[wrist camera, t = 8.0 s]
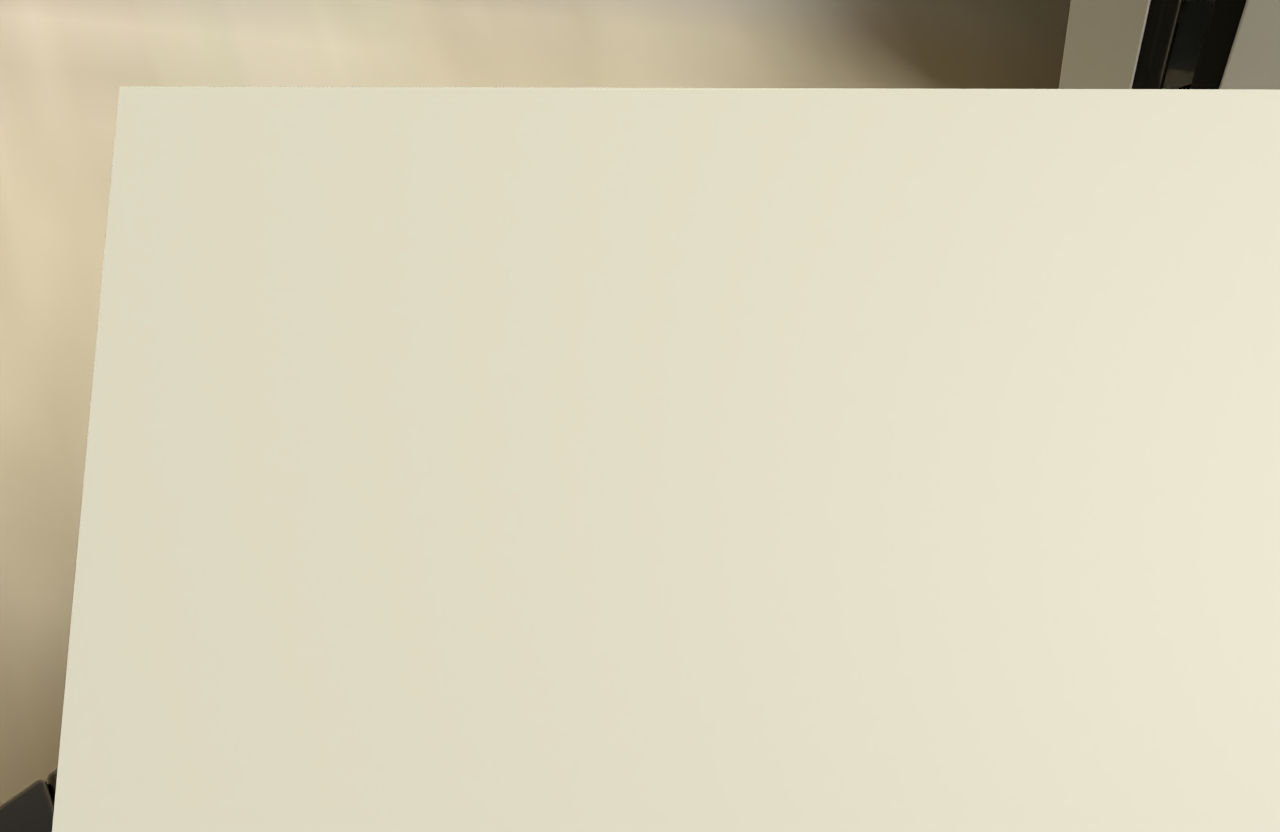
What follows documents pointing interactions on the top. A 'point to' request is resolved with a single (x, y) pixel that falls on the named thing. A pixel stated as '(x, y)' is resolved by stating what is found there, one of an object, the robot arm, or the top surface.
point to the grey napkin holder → (1172, 44)
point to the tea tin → (682, 463)
